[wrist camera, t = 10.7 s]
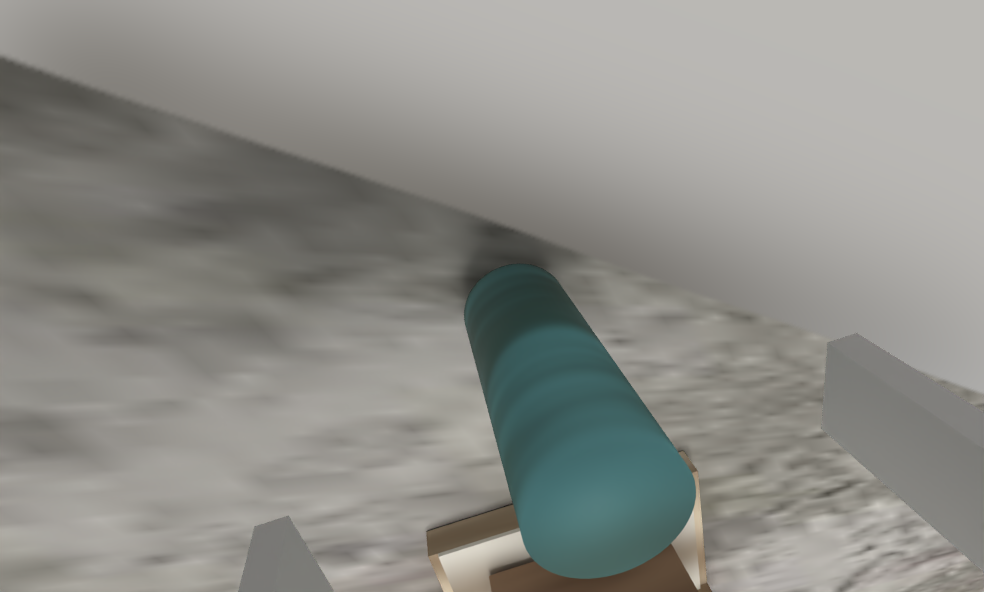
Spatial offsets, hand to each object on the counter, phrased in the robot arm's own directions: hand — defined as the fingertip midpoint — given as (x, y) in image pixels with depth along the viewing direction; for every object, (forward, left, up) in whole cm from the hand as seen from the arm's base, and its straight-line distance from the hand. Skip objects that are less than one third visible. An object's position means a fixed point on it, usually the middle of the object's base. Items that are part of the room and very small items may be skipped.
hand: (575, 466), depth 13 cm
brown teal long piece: (+10, 0, -9) cm, 13 cm away
